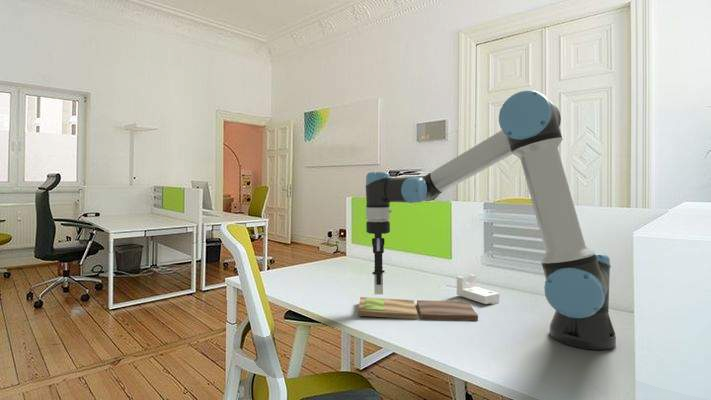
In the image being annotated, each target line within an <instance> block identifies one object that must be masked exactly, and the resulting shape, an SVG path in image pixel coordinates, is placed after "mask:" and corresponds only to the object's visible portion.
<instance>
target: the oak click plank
mask: <svg viewBox="0 0 711 400" xmlns="http://www.w3.org/2000/svg"><path fill="white" fill-rule="evenodd" d="M417 310H418V309H417V307H416V305H415V301H414V299H397V298H382V297H368V296H367V297H365V296H363V297H362V296H360V298H359V305H358V309H357V316H362V317H375V318H376V317H379V318H392V319H393V318H395V319H410V320H418V311H417Z"/></svg>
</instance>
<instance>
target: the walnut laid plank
mask: <svg viewBox="0 0 711 400" xmlns="http://www.w3.org/2000/svg"><path fill="white" fill-rule="evenodd" d="M416 306H417V307H416V308H417V310H418V312H419V315H420V319H421V320H436V321H437V320H439V321H440V320H441V321H442V320H443V321H479V315H478V314H477V313H478V312H476V311H475V309H474V308H473V307H472V305H471V304H470V302H469V301H468V300H467V301H466V300H463V301H462V300H426V299H425V300H424V299H423V300H421V299H418V300H416Z"/></svg>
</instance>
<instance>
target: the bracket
mask: <svg viewBox="0 0 711 400" xmlns="http://www.w3.org/2000/svg"><path fill="white" fill-rule="evenodd" d="M476 283H477V275H474V274H471V273H470V274H468V277H467V279H466V280H465V277H463V276H459V275H458V276H456V295H457V296H460V297H464V298H466V299H469V300H471V301H475V302H477V303H481V304H483V305H487V304H490V305H495V304H499V303H500V294H501V293H499V292H497V291H492V290H490V289H485V288H482V287H478V286H477V284H476Z"/></svg>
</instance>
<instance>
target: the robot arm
mask: <svg viewBox="0 0 711 400" xmlns="http://www.w3.org/2000/svg"><path fill="white" fill-rule="evenodd" d="M561 121H562V117H561V113H560V110H559V108H558V106H556V104H554V103H553V102H552V101H551V100H550V99H549V97H548V96H546V94H543V93H541V92H539V91H536V90H523V91H519V92H516V93H514V94H511V95H510V97H508V98H507V99H506V100H505V101H504V103H503V104H502V105H501V107H500V109H499V113H498V124H499V127H500V129H501V130H500V131H498V132H496V133H495V134H493V135H491V136H490V137H488V138H486V139H484V140H483V141H481V142H479V143H477V145H474V146H473V147H470V148H469V149H468V150H466V151H464V152H463V153H461V154H459V155H458V156H455V157H454V158H452V159H451V160H449V161H447V162H446V163H444V164H442V165H441V166H439V167H437V168H436V169H434V170H433V171H431V172H430V173H427V174H425V175H424V176H422V177H414V176H410V177H390V173H389V172H388V171H371V172H368V173H367V174H366V177H365V181H366V182H365V196H366V197H365V199H366V202H365V203H366V205H365V219H366V220H367V221H366V224H365V225H366V227H365V228H366V231H365V232H366V233H367V234H369V235H370V234H372V235H374V238H373V237H372V238H371V245H372V253H373V254H374V256H373V257H374V268H373V269H374V271H372V273H371V274H372V275H373V278H374V295H384V273H385V270H384V269H383V267H384V266H383V254H384V252H385V247H384V246H385V238H383V237H382V236H383V235H382V234H385V235H386V234H389V233H390V231H391V222H390V221H389V220H390V217H391V216H390V215H391V214H392V212H393V211H392V209H390V206H391V205H390V204H391V203H409V204H414V203H415V204H416V203H422V202H431V201H434V200H436V199H437V198H438V197H439V196H440V194H442V193H444V192H446V191H447V190H449V189H451V188H453V187H455V186H457V185H458V184H459V185H460V183H462V182H464V181H466V180H468V179H469V178H471V177H474V176H476V175H477V174H478V173H481V172H482V171H484V170H486V169H488V168H490V167H492V166H494V165H495V164H497V163H499V162H500V161H502V160H505V159H507V158H509V157H510V156H511V155H514V156H515V157H517V158H519V160H520V162H521V163H520V164H521V166H522V167H521V168H522V170H523V175H524V177H525V181H526V185H527V190H528V192H529V196H530V200H531V203H532V207H533V211H534V214H535V215H534V216H535V218H536V222H537V225H538V228H539V233H540V235H541V240H542V244H543V247H544V251H545V254H544V256H543V257H542V258H541V260H540V262H541V265H542V269H543V274H544V277H545V281H544V287H543V288H544V295H545V298H546V300H547V303H548V304H549V306H551V307H552V308H553V309H554V310H555V311H554V314H553V317H552V319H551V322H550V324H549V335H550V337H551V338H553V339H555V340H556V341H557V342H560V343H562V344H565V345H567V346H571V347H574V348H579V349H585V350H593V351H605V350H606V351H607V350H610V349H613V348H615V347H616V346H617V345H616V343H617V335H616V332H615V329H614V326H613V322H612V320H611V317H610V313H609V311H610V310H609V308H610V305H609V304H610V275H611V272H610V271H611V270H610V269H611V267H612V265H611V259H610V257H609V256H608V255H606V254H604V253H596V252H595V251H594V250H592V249H590V248H589V247H587V246H586V243H585V240H584V235H583V233H582V232H583V231H582V229H581V226H580V222H579V219H578V215H577V211H576V208H575V204H574V201H573V197H572V194H571V191H570V186H569V184H568V180H567V177H566V173H565V169H564V166H563V162H562V157H561V155H560V152H559V146H560V145H561V143H562V141H563V140H564V139H563V136H562V132H561V129H560V126H561V124H562V123H561Z"/></svg>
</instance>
